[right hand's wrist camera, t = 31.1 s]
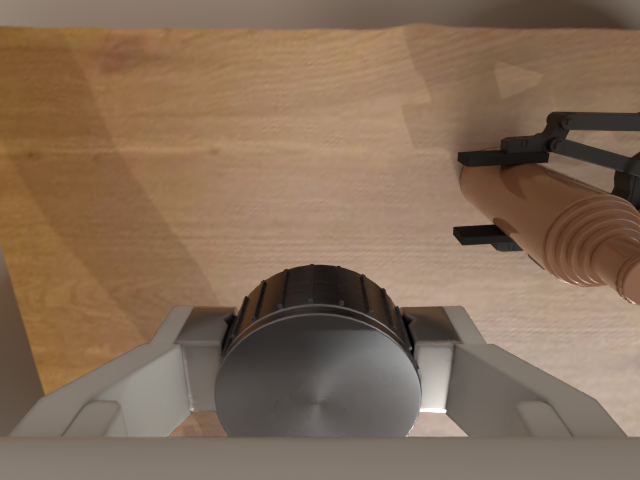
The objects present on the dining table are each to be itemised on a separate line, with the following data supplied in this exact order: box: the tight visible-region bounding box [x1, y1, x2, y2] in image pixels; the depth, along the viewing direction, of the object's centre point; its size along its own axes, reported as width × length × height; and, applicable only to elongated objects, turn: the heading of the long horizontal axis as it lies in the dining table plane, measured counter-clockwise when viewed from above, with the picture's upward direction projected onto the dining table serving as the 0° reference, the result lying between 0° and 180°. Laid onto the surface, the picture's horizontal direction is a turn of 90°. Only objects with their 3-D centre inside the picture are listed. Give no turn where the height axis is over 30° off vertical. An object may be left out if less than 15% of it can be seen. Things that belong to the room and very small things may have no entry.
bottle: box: [460, 148, 640, 305], centre depth 32 cm, size 6×6×23 cm
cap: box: [214, 264, 422, 437], centre depth 9 cm, size 4×4×2 cm
